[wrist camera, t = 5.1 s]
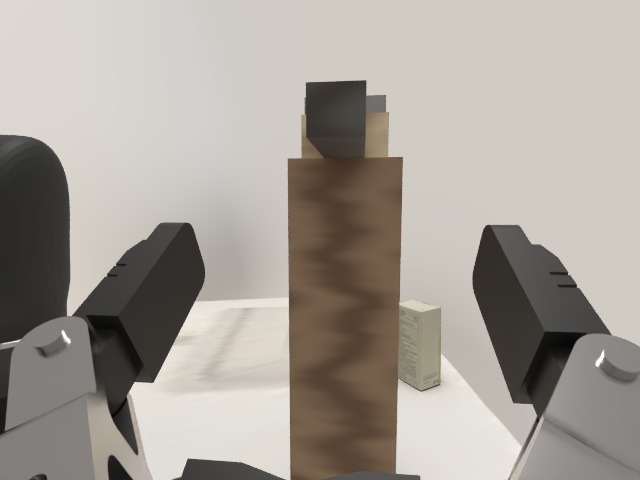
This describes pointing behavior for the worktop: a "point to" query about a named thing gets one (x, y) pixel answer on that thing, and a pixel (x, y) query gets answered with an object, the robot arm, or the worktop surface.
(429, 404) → the worktop surface
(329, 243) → the walnut stand
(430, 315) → the skincare box
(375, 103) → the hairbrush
